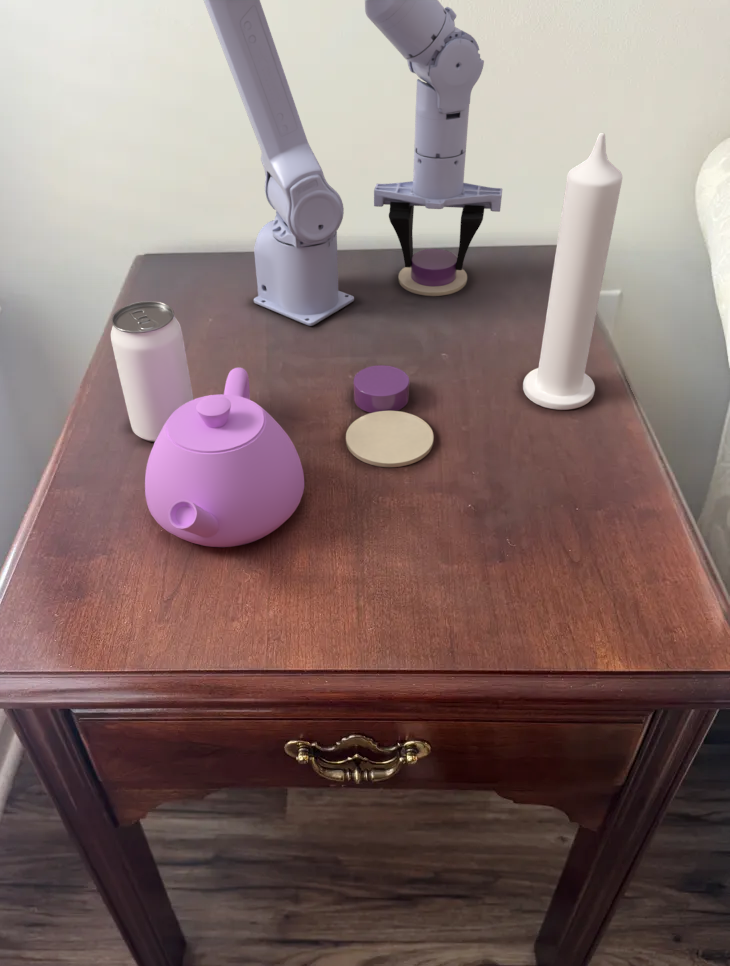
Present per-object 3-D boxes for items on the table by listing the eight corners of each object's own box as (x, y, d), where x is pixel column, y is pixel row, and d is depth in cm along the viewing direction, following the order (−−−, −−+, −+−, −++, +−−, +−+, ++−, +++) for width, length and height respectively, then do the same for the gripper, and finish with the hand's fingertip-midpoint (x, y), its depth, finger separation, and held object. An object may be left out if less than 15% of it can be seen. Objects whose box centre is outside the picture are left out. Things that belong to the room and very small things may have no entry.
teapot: (114, 584, 69) (83, 482, 62) (181, 436, 83) (163, 340, 76) (280, 599, 67) (269, 497, 60) (320, 446, 82) (316, 348, 74)
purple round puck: (404, 283, 104) (405, 265, 102) (417, 262, 108) (418, 246, 106) (449, 289, 102) (450, 272, 101) (461, 268, 106) (462, 251, 104)
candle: (592, 414, 84) (647, 151, 66) (519, 406, 85) (554, 146, 68) (595, 374, 89) (647, 119, 71) (525, 367, 90) (560, 116, 73)
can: (144, 452, 82) (119, 341, 74) (123, 418, 86) (97, 309, 78) (206, 431, 84) (189, 322, 76) (183, 399, 88) (164, 292, 80)
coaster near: (327, 444, 82) (327, 440, 81) (382, 404, 86) (382, 400, 86) (397, 479, 78) (397, 475, 77) (450, 435, 82) (451, 431, 82)
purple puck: (342, 400, 87) (342, 382, 85) (376, 377, 90) (377, 358, 88) (385, 421, 84) (386, 402, 83) (419, 395, 87) (420, 377, 86)
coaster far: (384, 282, 105) (384, 279, 105) (425, 258, 109) (425, 254, 109) (440, 303, 101) (440, 299, 101) (480, 276, 105) (480, 272, 105)
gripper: (369, 160, 93) (369, 277, 102) (504, 164, 90) (492, 283, 100) (379, 137, 98) (378, 250, 107) (507, 141, 95) (495, 256, 105)
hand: (433, 265), depth 104 cm, fingers closed on purple round puck, 5 cm apart
